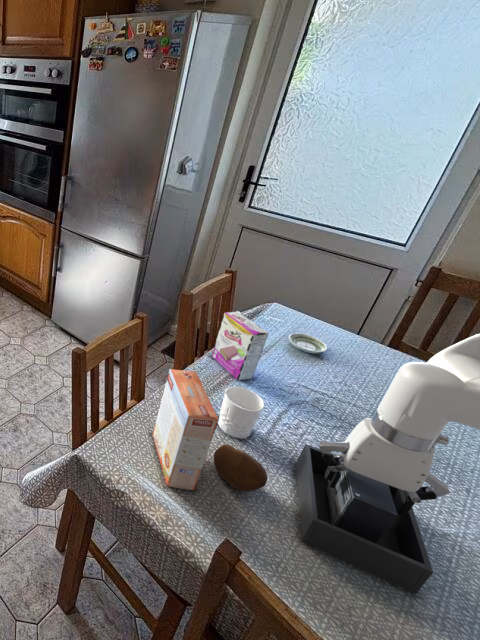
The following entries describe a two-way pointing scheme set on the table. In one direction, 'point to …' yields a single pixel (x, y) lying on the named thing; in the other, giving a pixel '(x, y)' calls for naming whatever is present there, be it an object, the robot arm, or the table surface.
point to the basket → (379, 559)
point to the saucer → (307, 343)
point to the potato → (239, 469)
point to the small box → (360, 505)
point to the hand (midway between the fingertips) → (362, 494)
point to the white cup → (239, 411)
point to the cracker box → (184, 429)
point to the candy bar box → (239, 345)
